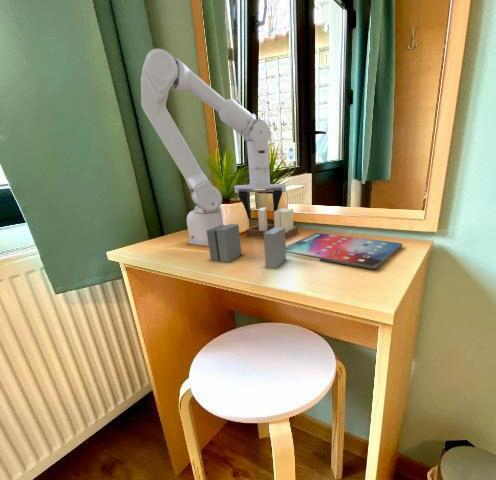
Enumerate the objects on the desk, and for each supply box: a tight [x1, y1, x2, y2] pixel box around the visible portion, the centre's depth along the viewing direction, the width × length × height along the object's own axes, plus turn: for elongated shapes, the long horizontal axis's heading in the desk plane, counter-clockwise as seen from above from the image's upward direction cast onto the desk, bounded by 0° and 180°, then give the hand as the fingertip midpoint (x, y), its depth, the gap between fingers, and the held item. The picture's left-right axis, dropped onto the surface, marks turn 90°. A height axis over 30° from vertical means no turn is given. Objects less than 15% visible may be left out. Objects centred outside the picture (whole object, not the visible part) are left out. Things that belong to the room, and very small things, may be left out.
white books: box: [273, 208, 294, 233], centre depth 87 cm, size 4×5×7 cm
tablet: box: [286, 232, 403, 270], centre depth 75 cm, size 19×25×1 cm
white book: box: [257, 207, 268, 231], centre depth 90 cm, size 2×5×7 cm, turn 176°
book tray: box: [245, 223, 299, 240], centre depth 90 cm, size 13×8×2 cm, turn 66°
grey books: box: [207, 223, 287, 270], centre depth 69 cm, size 17×6×8 cm, turn 66°
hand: (262, 217), depth 90 cm, fingers open, 7 cm apart
